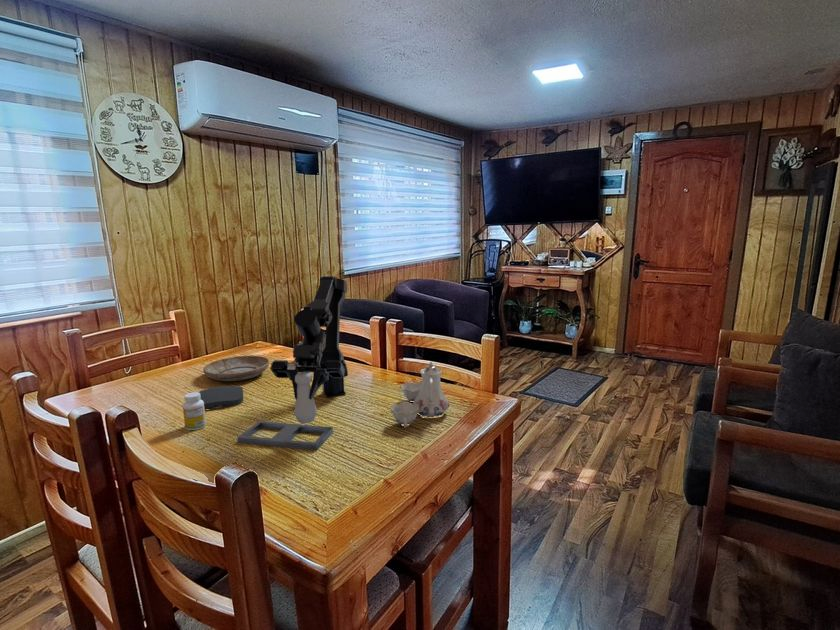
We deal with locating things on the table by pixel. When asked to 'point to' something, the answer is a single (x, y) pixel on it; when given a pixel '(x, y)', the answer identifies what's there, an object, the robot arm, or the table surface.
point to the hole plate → (285, 435)
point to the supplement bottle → (194, 411)
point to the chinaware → (421, 397)
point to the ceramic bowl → (236, 368)
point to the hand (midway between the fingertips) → (303, 398)
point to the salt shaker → (304, 399)
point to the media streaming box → (222, 397)
